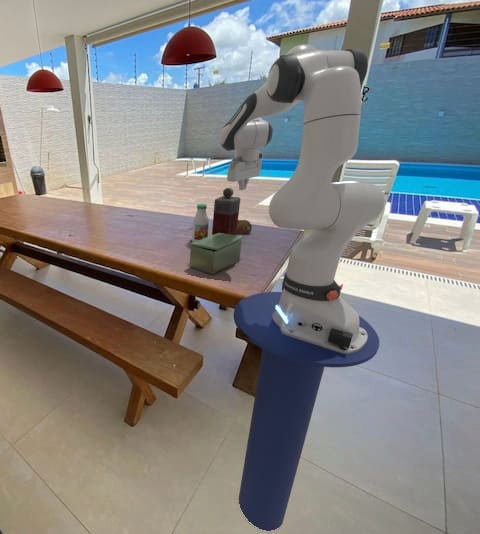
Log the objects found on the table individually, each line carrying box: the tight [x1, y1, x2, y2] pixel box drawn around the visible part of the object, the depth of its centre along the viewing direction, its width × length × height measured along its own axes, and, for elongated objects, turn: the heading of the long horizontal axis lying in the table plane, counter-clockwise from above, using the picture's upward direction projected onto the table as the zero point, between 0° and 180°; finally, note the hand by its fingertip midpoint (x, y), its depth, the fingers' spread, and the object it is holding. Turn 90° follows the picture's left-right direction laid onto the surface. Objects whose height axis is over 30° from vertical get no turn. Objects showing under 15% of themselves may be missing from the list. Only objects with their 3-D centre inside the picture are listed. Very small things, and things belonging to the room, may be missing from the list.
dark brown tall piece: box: [211, 187, 241, 235], centre depth 150 cm, size 9×11×28 cm
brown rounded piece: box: [236, 219, 253, 234], centre depth 167 cm, size 15×3×8 cm, turn 72°
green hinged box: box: [189, 239, 243, 275], centre depth 131 cm, size 12×20×10 cm, turn 129°
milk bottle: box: [191, 203, 210, 243], centre depth 155 cm, size 8×8×20 cm
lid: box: [190, 233, 245, 250], centre depth 129 cm, size 12×20×1 cm, turn 129°
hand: (242, 189), depth 133 cm, fingers closed
